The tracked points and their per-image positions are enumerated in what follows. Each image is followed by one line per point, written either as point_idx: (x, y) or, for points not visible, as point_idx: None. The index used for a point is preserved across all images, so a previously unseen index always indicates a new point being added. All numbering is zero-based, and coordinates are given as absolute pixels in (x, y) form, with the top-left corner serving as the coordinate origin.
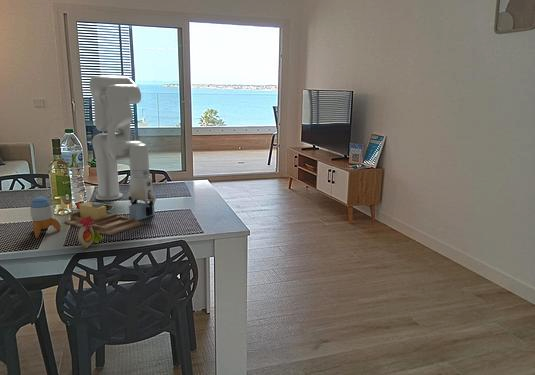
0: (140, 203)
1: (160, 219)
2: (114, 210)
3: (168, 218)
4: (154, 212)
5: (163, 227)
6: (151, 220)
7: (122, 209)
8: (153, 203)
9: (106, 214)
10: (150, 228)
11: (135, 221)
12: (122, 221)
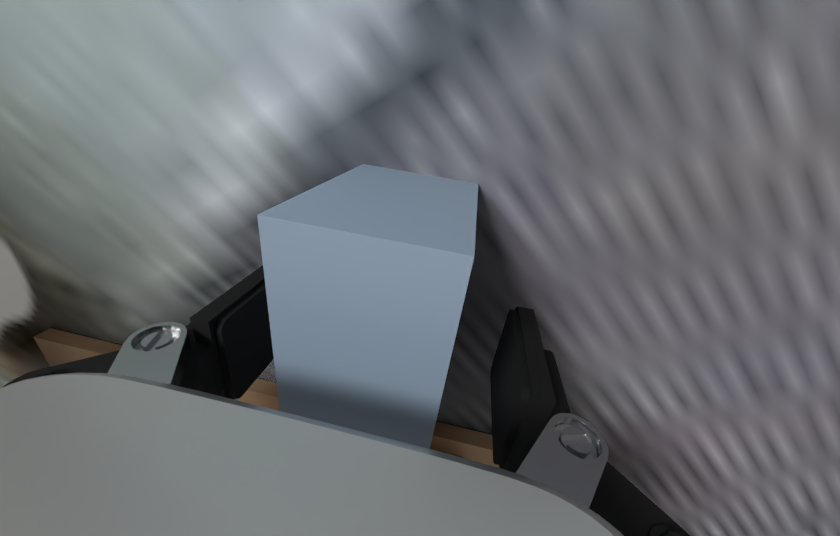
0: (325, 412)
1: (647, 304)
2: (35, 224)
3: (748, 241)
4: (476, 190)
5: (781, 470)
6: (559, 354)
7: (39, 164)
8: (656, 526)
9: None
10: (659, 496)
11: (469, 451)
12: None
